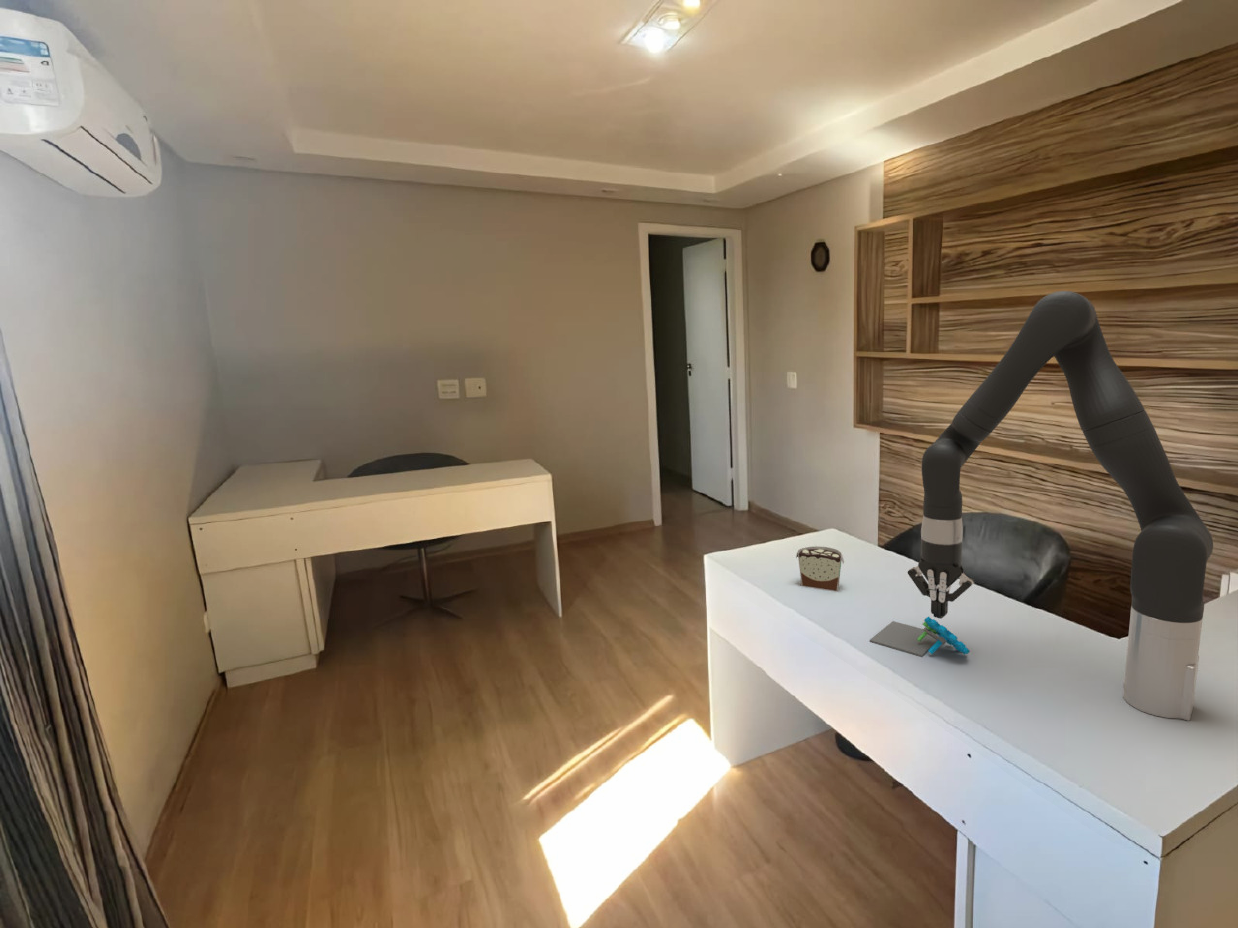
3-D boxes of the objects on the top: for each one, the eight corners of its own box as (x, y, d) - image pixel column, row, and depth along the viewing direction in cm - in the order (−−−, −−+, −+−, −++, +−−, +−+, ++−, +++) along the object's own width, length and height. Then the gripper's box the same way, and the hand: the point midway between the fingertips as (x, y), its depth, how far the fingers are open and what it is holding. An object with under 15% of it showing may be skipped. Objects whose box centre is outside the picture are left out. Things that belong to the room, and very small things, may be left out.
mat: (943, 635, 140) (943, 634, 140) (921, 656, 132) (921, 655, 132) (892, 622, 148) (892, 620, 148) (869, 641, 140) (869, 639, 140)
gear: (980, 657, 129) (953, 627, 126) (960, 678, 129) (932, 648, 126) (943, 633, 139) (917, 605, 137) (924, 653, 139) (897, 625, 137)
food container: (849, 584, 172) (849, 548, 170) (843, 592, 166) (843, 556, 165) (803, 578, 178) (802, 543, 176) (796, 585, 173) (795, 550, 171)
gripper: (983, 538, 129) (979, 618, 132) (915, 527, 138) (913, 603, 142) (970, 548, 124) (967, 631, 127) (901, 536, 133) (899, 614, 136)
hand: (938, 616), depth 134 cm, fingers closed
